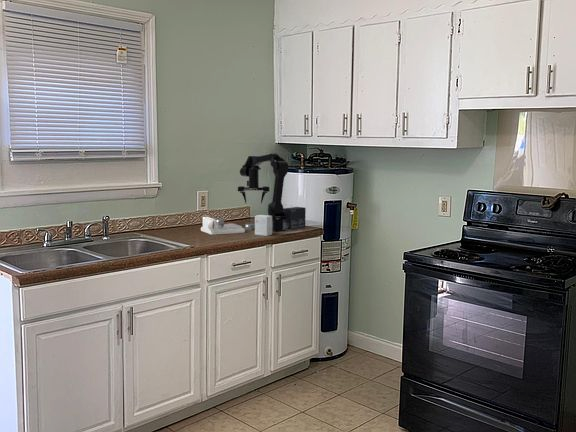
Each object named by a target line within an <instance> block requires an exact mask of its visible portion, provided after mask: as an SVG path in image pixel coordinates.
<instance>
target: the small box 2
mask: <svg viewBox="0 0 576 432" xmlns="http://www.w3.org/2000/svg"><path fill="white" fill-rule="evenodd" d="M306 209H307V208H306V207H303V206H293V207H283V211H284V213H285V214H286V216H287V217H286V220H283V229H284V228H285V229H284V230H290V229H292V230H296V229H297V228H298V229H302V228H306Z"/></svg>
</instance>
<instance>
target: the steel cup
mask: <svg viewBox="0 0 576 432" xmlns="http://www.w3.org/2000/svg"><path fill="white" fill-rule="evenodd" d="M244 229H245V231H253V230H254V231H255V223H245V224H244Z"/></svg>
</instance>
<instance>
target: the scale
mask: <svg viewBox="0 0 576 432" xmlns="http://www.w3.org/2000/svg"><path fill="white" fill-rule="evenodd" d="M215 219H216V218H213V217H209V216H203V217H202V226H201V227H200V231H201V232H204V233H206V234H209V235H226V234H227V235H228V234H229V235H230V234H242V233H245V232H246V230H245V227H242V228H237V229H220V228H218V222H217V221H216V220H215Z"/></svg>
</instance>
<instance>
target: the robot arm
mask: <svg viewBox="0 0 576 432" xmlns="http://www.w3.org/2000/svg"><path fill="white" fill-rule="evenodd" d="M266 162H270V166H271V167H272V172H273V174H274V176H275V177H274V178H275V179H274V184H273V185H274V187H273V194H272V200H271V202H269V203H268V207H267V215H269V216H272V232H284V231H286V229H284V228H283V220H286V217H287V216H286V214H285V213H284V211H283V208H284V205H283V203H282V197H283V191H284V190H283V188H284V182H285V177H286V175H287V174H288V172H289V168H290V167H289V163H288V162H287V161H286V160H285V159H284V158H283V157H282V156H280V155H279V154H278V153H269V154H268V153H267V154H264V155H249V156H248V157H247V159H246V161H245V163H244V164H243V165H242V167H241V168H240V170H239V174H240V176H242V177H248V180H246V186H245V185H239V186H238V187H237V192H239V193H240V194H242V196H243V200H244V203H245V204H247V197H246V195H247V194H246V191H262V193H261V197H260V198H261V200H260V204H262V203H263V201H264V197H265V195H266V194H267V193H269V192H270V186H269V185H267V186H266V185H263V186H261V187H260V185H259V184H260V183H259V180H260V179H259V175H260V174H259V170H260V171H261V170H262V168H261V167H260V165H262V164H263V163H266Z"/></svg>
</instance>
